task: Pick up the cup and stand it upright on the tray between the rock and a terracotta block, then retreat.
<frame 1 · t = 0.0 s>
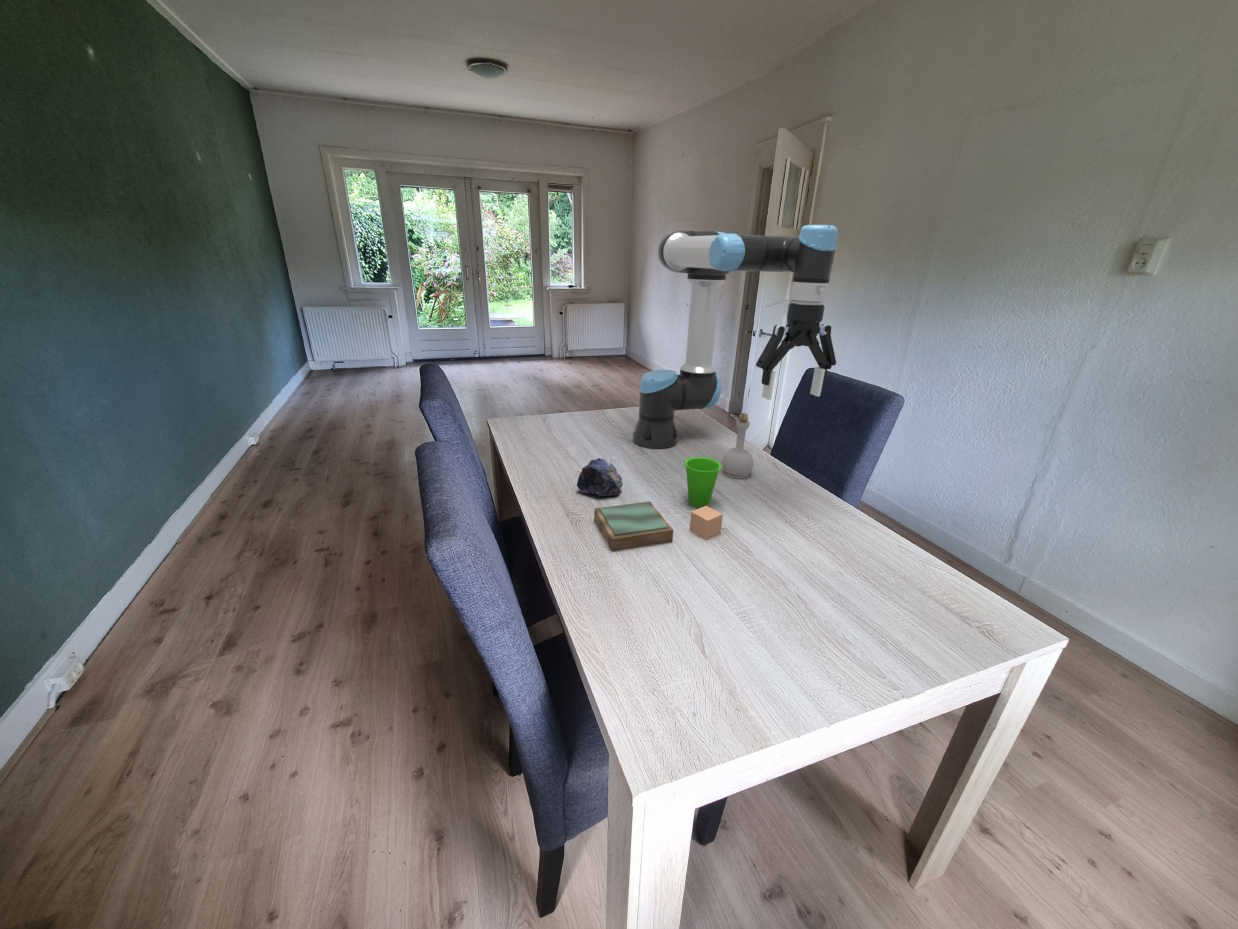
hand: (791, 396, 117), 28 cm above the table, fingers open, 13 cm apart
tray: (632, 530, 113), on the table
rock: (602, 492, 131), on the table
terracotta block: (704, 532, 113), on the table
cup: (698, 504, 126), on the table
potion bottle: (735, 474, 144), on the table
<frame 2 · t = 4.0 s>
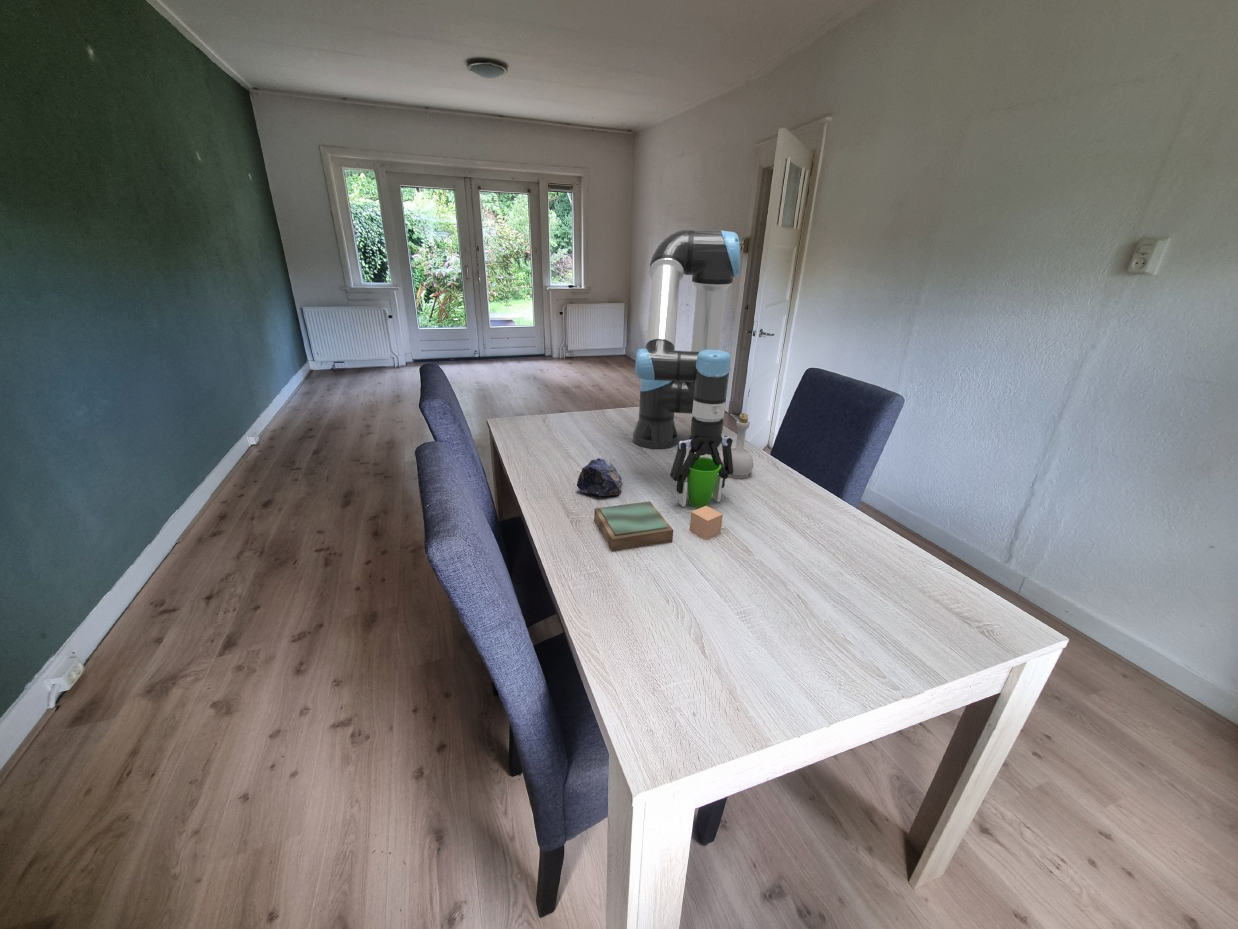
hand: (699, 501, 126), 0 cm above the table, fingers closed on cup, 9 cm apart
cup: (698, 504, 126), on the table, touching gripper
everything else where it was.
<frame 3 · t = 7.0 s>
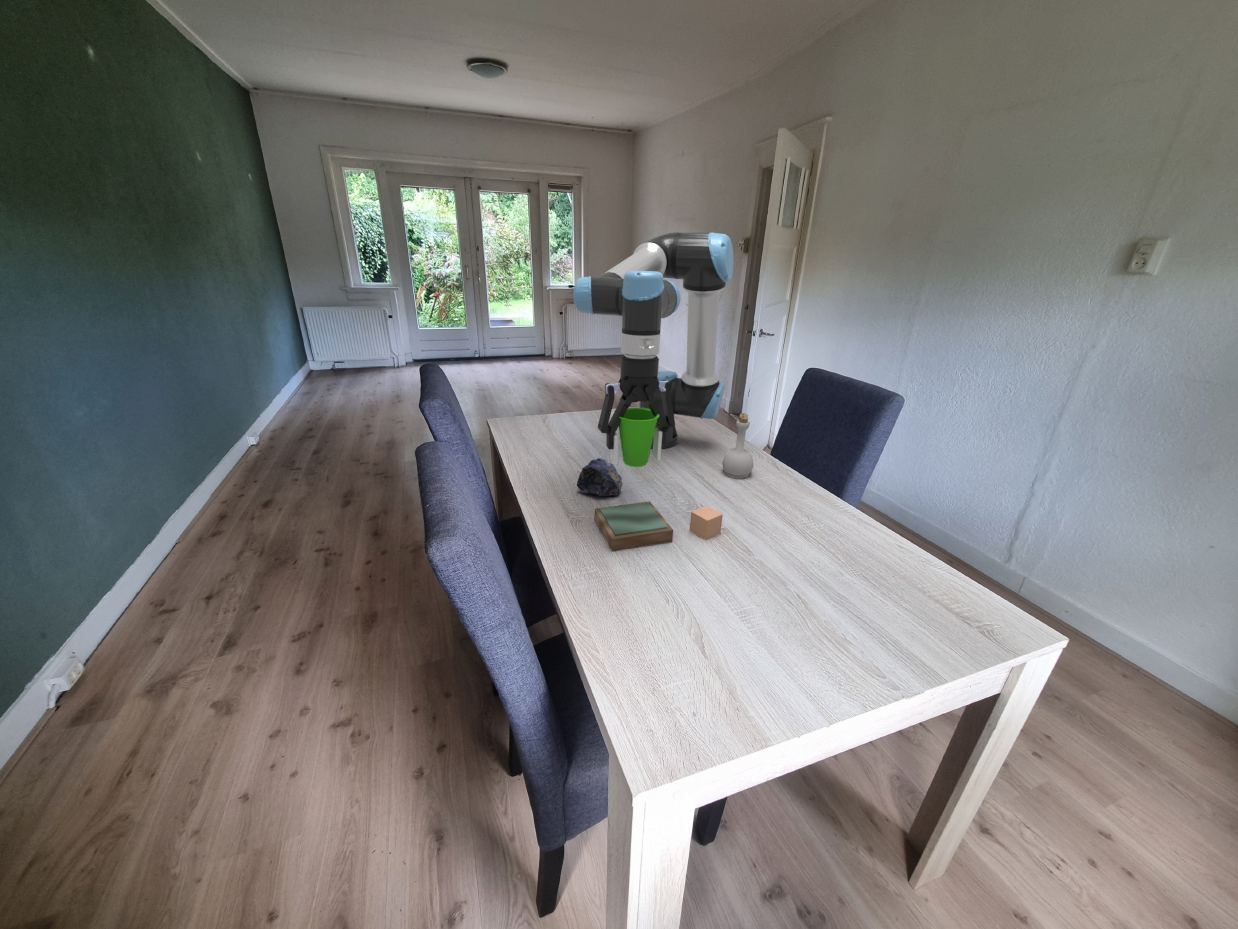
hand: (635, 460, 106), 17 cm above the table, fingers closed on cup, 9 cm apart
cup: (635, 463, 106), point 17 cm above the table, touching gripper
everything else where it was.
when the fingers open (5 cm above the table, at t = 10.2 s): cup stays where it is, resting on tray.
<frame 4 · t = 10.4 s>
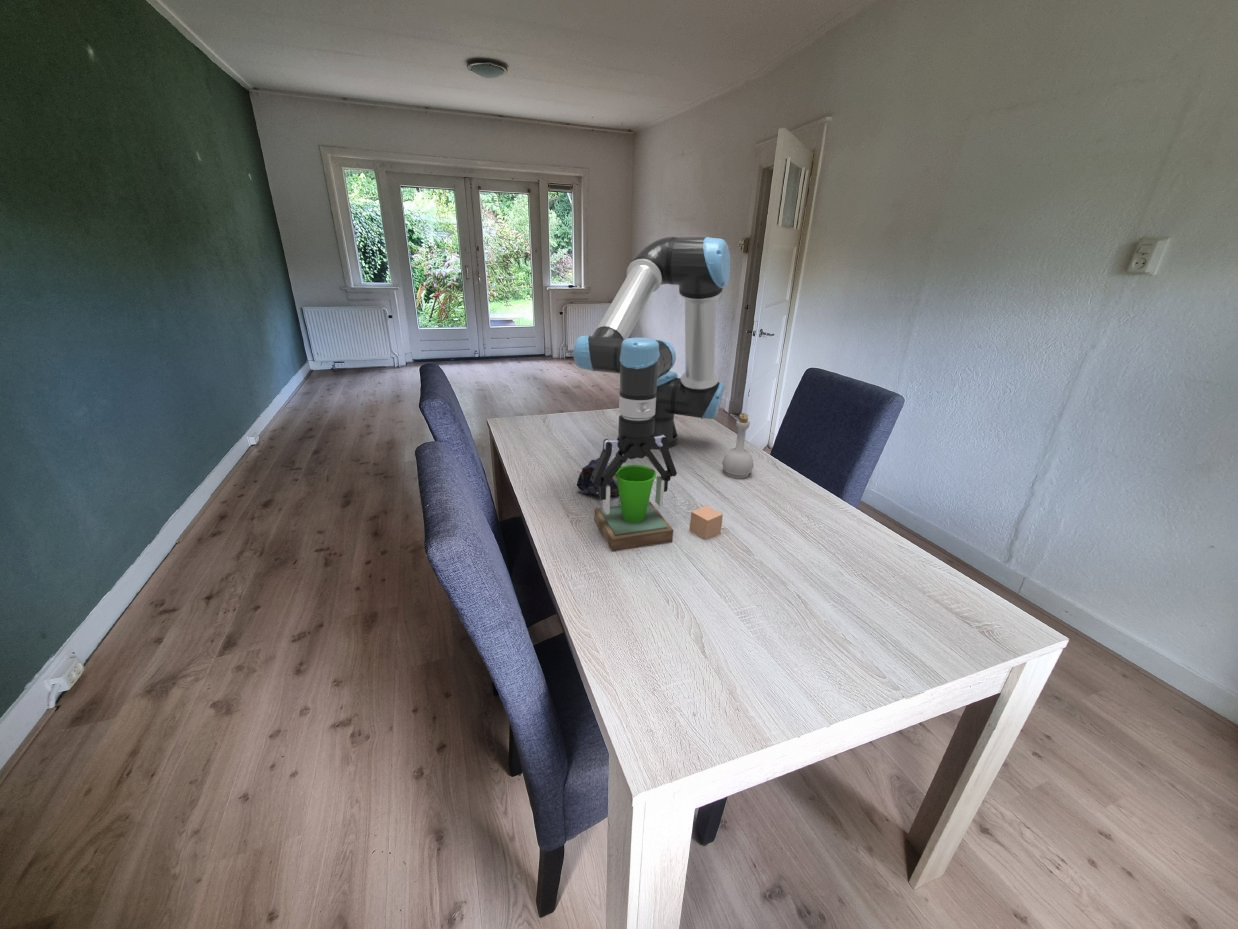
hand: (632, 507, 110), 6 cm above the table, fingers open, 12 cm apart
cup: (633, 517, 112), point 3 cm above the table, touching tray
everything else where it was.
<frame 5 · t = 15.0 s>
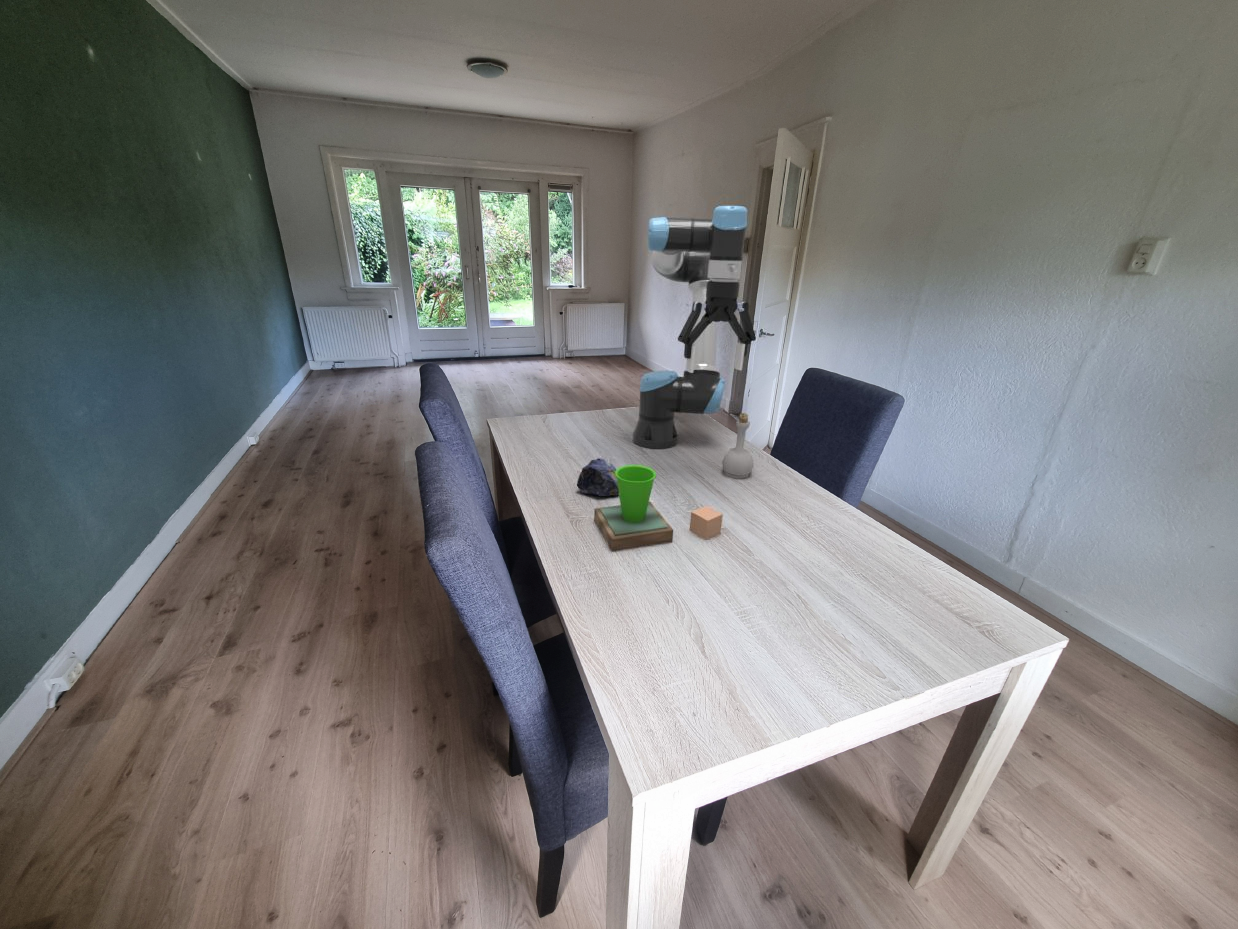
hand: (714, 370, 124), 32 cm above the table, fingers open, 13 cm apart
nothing on the table moved.
at the end: cup inside the target area on the tray (0.3 cm from its centre), point 3.2 cm above the tray's base; cup tilted 0°; cup touching tray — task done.
